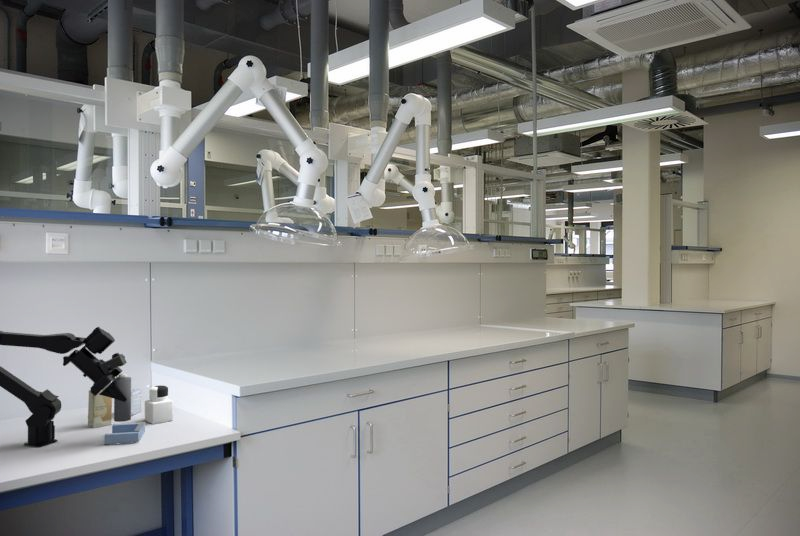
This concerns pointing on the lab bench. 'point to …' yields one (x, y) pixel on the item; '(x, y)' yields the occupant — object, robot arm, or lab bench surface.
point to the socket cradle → (125, 433)
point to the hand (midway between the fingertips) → (127, 398)
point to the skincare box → (99, 410)
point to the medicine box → (135, 401)
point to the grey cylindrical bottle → (122, 408)
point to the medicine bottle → (158, 405)
